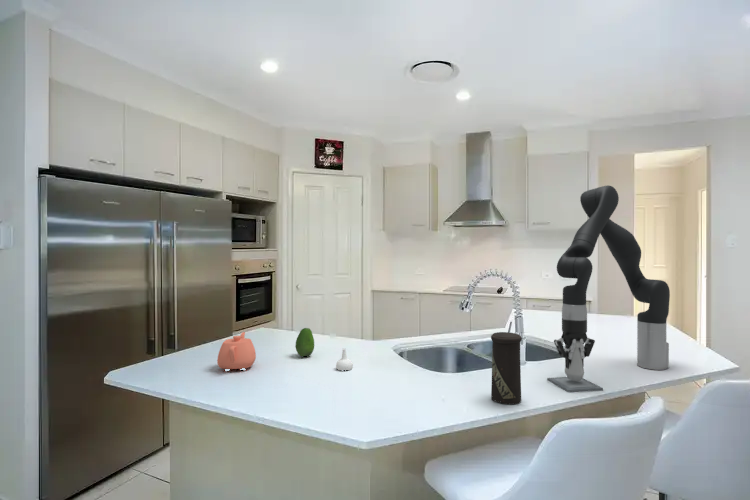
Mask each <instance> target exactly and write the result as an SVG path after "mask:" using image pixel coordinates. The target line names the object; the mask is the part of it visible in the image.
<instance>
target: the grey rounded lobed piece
mask: <svg viewBox="0 0 750 500" xmlns="http://www.w3.org/2000/svg"><path fill="white" fill-rule="evenodd" d="M574 346H575V348H574V352H573V354H572V359H571V360H572V361H571V366H570V364H569V369H568V368H566V367H564V373H565V376H566V377H567V378H568V379H569V380H572V381H580V380H582V378H583V377H584V376H585V369H584V367H583V364H584V363H582V358H581V354H580V349H579V348H580V347H581V344H580V342H579V341H576V344H575V345H574ZM569 349H570V348H569Z"/></svg>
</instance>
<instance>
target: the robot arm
mask: <svg viewBox="0 0 750 500" xmlns="http://www.w3.org/2000/svg"><path fill="white" fill-rule="evenodd" d="M619 198H620V197H619V194H618V191H617V189H616V188H615V187H614V186H612V185H604V186H603V185H602V186H599V187H595V188H592V189H588V190H586V191H583V192H582V193H581V195H580V201H579V202H580V204H581V207H582V209H583V211H584V213H585V215H587V218H588V219H587V220H586V221H585V222H584V223H583V224H581V226H580V227H579V228H578V229H577V230H576V232H575V235H574V237H573V239H572V242H571V245H569V247H568V248H567V249H566V250H565V252H564V253H563V254H562V255H561V257H560V258H559V259H558V261H557V263H556V272H557V274H558V275H559V277H561V278H564V279H577V280H576V282H575V284H572V285H565V286H563V288H562V307H561V332H562V335H561V337H560V338H558V339H553V344H554V345H555V347H556V350H557V353H558V355H559V356H560V357H562V358H564V361H565V362H564V364H565V365H564V366H565V367H566V368H568V369H569V364H570V366H571V361H572V360H571V359H572V354H573V352H574V348H575V346H574V345H575V344H576V341H579V342H580V344H581V347H580V348H579V349H580V354H581V358H582V363H583V368H584V366H585V365H584V362H585V361H584V359H585V358H587V357H588V358H589V357H590V355H591V352H592V350H593V348H594V345H595V343H596V340H595V339H594V338H590V337H588V334H587V332H588V309H587V290H588V287H589V282H590V279H591V276H592V274H593V263H592V262H591V261H592V260H591V259H589V258H590V257H591V256H592V254H593V252H594V250H595V247H596V244H597V242H598V239H599V238H600V235H601V237H602V239H603V240H604V243H605V244H606V246H607V248H608V249H609V252H610V253H611V255H612V257H613V258H614V260H615V261H616V263H617V265H618V267H619V269H620V271H621V272H622V274H623V276H624V278H625V280H626V283H627V285H628V288H629V291H630V292H631V294H632V296H633V298H634V299H635V300H636V301H638V302H640V303H643V304H644V303H645V304H648V309H647V310H644V311H641V312H638V313H637V320H636V321H637V322H636V323H637V325H636V326H637V327H636V328H637V329H636V330H637V333H636V334H637V338H636V340H637V342H636V346H637V347H636V350H637V351H636V352H637V353H636V354H637V355H636V356H637V357H636V362H637V363H636V365H637V366H638V367H640V368H643V369H647V370H652V371H653V370H656V371H663V370H667V369H669V368H670V367H669V366H670V365H669V363H670V360H669V359H670V358H669V357H670V352H669V351H670V348H669V347H670V346H669V345H670V343H669V342H667V319H668V316H669V313H670V297H671V294H670V287H669V284H668V283H667V282H666V281H664V280H662V279H650V278H649V279H648V278H647V277H645V275H644V274H643V272H642V270H641V268H640V263H641V258H642V249H641V247H640V244H639V242H638V241H637V239H636V237H635V236H634V235H633V233H632V232H630V231H629V230H628V229H626V228H625V227H623V226H621V225H619V224H618V223H616V222H614V221H613V220H611V217H612V215H613V214H614V212H615V211H616V209H617V207H618V204H619V202H620V201H619ZM569 348H570V349H569ZM565 367H564V368H565Z"/></svg>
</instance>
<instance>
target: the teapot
mask: <svg viewBox="0 0 750 500" xmlns="http://www.w3.org/2000/svg"><path fill="white" fill-rule="evenodd" d="M245 334H246V332H245V331H243V332H241V333H240V335H234V336H232V338H228V339H225V340H224V341H223V342H222V343H221V346H220V348H219V351H218V354H217V360H216V361H217V366H218V367H219V368H220V369H223V370H225V369H231V370H237V369H238V370H240V369H242V368H246V369H247V368H248V369H249V368H251V367H252V366H253V365H254V363H255V361H256V358H257V356H256V355H257V354H256V348H255V346H254V343H253V341H252V339H251V338H246V337H245V336H246V335H245Z"/></svg>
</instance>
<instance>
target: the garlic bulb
mask: <svg viewBox="0 0 750 500" xmlns="http://www.w3.org/2000/svg"><path fill="white" fill-rule="evenodd" d="M353 366H354V363H353V362H352V360H351V359H349V358H348V356H347V349H346V348H342V353H341V358H340V359H338V361H337V362H336V364H335V367H336V368H335V369H336V370H337V369H338V370H337V371H339V370H349V371H351V370H352V369H353V368H354V367H353ZM350 369H351V370H350Z"/></svg>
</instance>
